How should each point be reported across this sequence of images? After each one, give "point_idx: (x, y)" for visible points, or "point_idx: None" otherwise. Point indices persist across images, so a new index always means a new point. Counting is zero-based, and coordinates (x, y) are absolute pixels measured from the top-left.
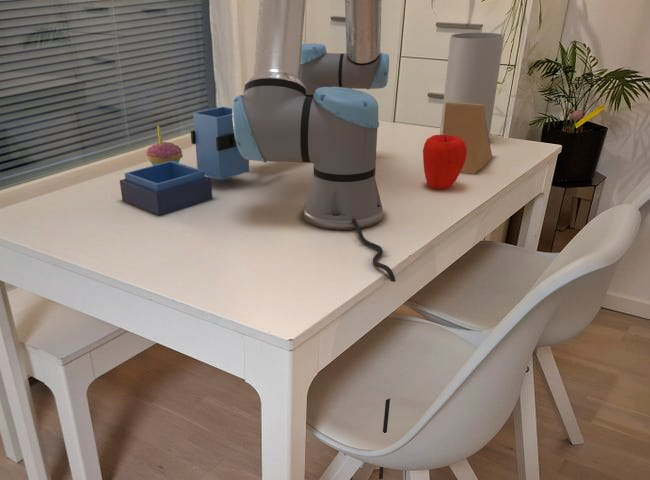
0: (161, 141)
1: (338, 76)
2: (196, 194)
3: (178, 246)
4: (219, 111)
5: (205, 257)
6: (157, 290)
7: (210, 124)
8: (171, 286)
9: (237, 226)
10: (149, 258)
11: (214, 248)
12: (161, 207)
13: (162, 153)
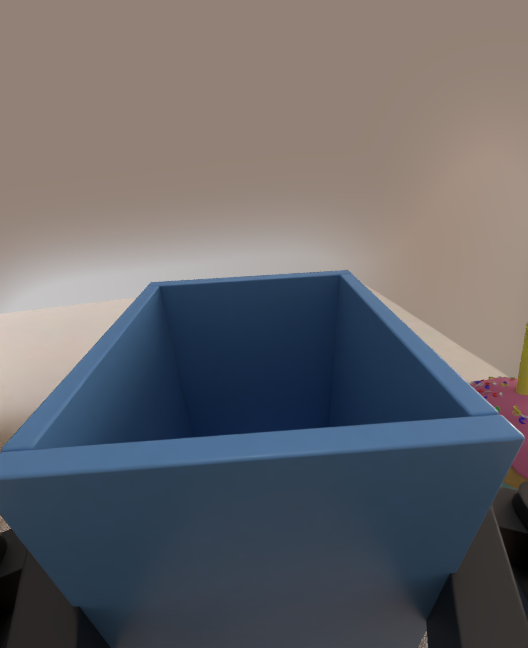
0: (520, 378)
1: None
2: None
3: (98, 337)
4: (426, 405)
5: (43, 342)
6: (64, 306)
7: (212, 315)
8: (53, 312)
9: (29, 407)
10: (113, 317)
11: (41, 355)
12: None
13: None
